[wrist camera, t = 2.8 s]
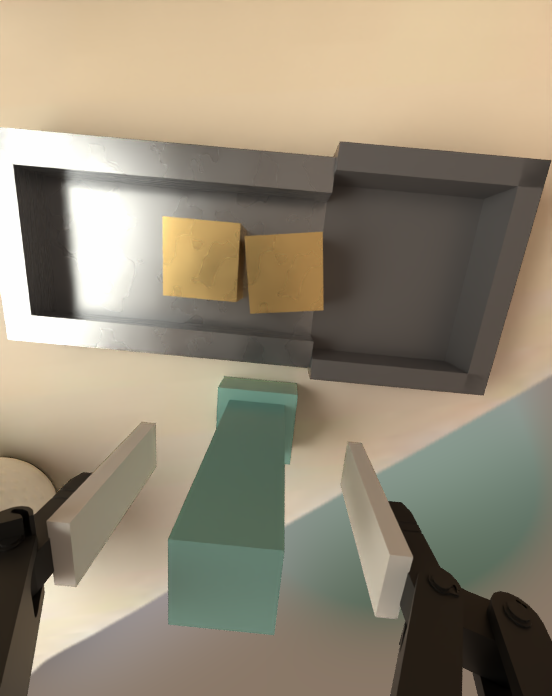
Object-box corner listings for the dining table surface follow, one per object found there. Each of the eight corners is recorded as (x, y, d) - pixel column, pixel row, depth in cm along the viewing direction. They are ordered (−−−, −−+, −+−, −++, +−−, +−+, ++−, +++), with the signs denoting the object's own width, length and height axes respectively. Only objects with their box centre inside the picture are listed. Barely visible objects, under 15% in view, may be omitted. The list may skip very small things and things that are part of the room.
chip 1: (179, 224, 17) (162, 216, 15) (246, 230, 17) (240, 223, 15) (179, 292, 18) (162, 295, 16) (242, 298, 18) (236, 302, 16)
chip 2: (250, 241, 17) (244, 236, 15) (317, 237, 17) (322, 231, 15) (254, 308, 18) (250, 313, 16) (318, 305, 18) (323, 310, 16)
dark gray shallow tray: (20, 146, 17) (-24, 125, 15) (329, 174, 17) (336, 157, 14) (41, 331, 20) (7, 339, 17) (307, 356, 20) (310, 368, 17)
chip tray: (330, 164, 17) (339, 141, 14) (505, 180, 17) (551, 160, 14) (306, 363, 20) (310, 379, 17) (454, 377, 20) (483, 395, 17)
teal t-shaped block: (224, 376, 20) (142, 516, 9) (296, 383, 20) (312, 533, 9) (221, 440, 21) (146, 638, 10) (289, 446, 21) (294, 653, 10)
